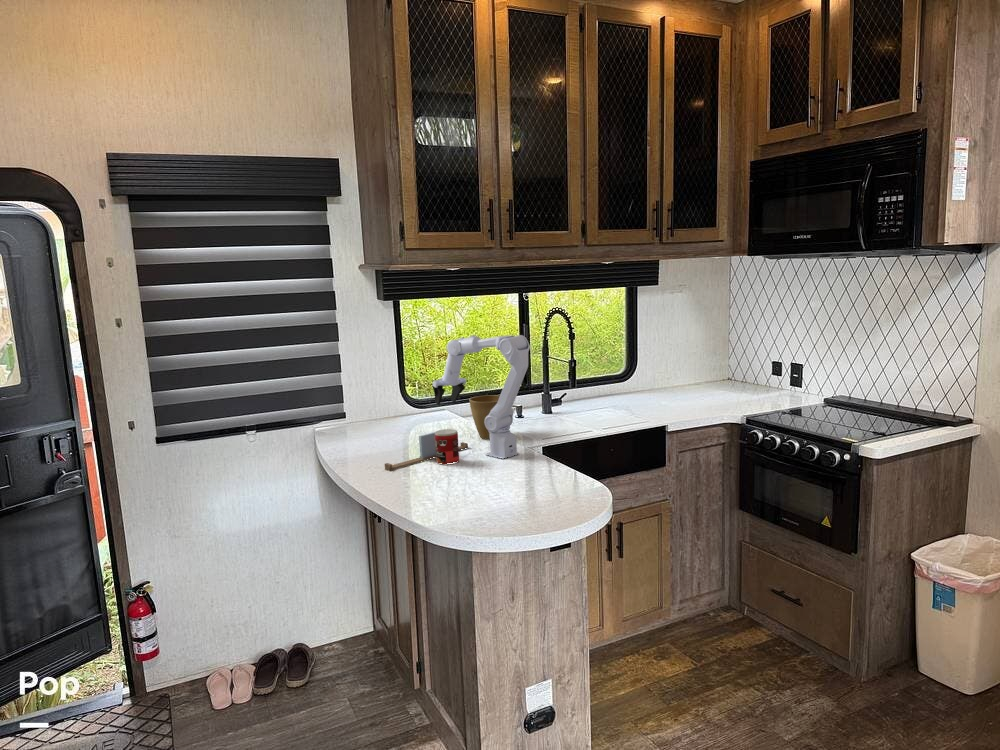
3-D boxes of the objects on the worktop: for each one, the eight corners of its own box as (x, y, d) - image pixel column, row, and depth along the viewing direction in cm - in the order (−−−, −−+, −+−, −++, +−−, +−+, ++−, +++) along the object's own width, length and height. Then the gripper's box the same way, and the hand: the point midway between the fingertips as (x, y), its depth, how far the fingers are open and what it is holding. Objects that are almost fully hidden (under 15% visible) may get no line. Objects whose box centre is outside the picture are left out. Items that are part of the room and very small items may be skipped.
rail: (468, 448, 260) (467, 443, 260) (389, 470, 236) (389, 465, 236) (463, 447, 262) (462, 442, 262) (385, 469, 238) (384, 463, 238)
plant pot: (485, 444, 265) (483, 403, 263) (464, 438, 277) (462, 398, 274) (516, 437, 274) (514, 397, 271) (494, 431, 285) (492, 393, 283)
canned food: (434, 461, 245) (431, 431, 244) (455, 457, 248) (453, 427, 247) (440, 466, 238) (438, 435, 237) (462, 462, 241) (460, 432, 240)
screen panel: (445, 452, 253) (443, 431, 252) (423, 458, 246) (421, 436, 245) (441, 451, 255) (440, 430, 253) (419, 457, 248) (418, 435, 247)
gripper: (460, 363, 264) (453, 395, 268) (430, 366, 254) (423, 399, 259) (472, 371, 259) (464, 403, 264) (442, 374, 249) (434, 408, 254)
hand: (445, 402), depth 261 cm, fingers open, 7 cm apart
